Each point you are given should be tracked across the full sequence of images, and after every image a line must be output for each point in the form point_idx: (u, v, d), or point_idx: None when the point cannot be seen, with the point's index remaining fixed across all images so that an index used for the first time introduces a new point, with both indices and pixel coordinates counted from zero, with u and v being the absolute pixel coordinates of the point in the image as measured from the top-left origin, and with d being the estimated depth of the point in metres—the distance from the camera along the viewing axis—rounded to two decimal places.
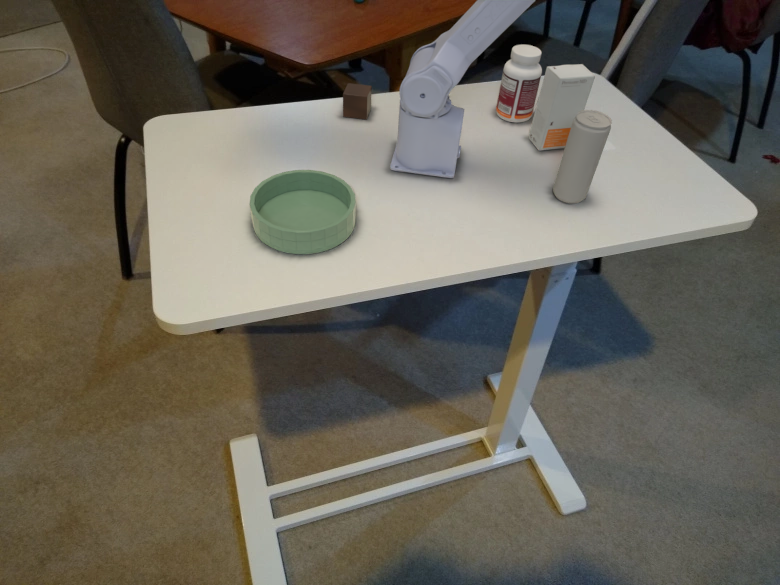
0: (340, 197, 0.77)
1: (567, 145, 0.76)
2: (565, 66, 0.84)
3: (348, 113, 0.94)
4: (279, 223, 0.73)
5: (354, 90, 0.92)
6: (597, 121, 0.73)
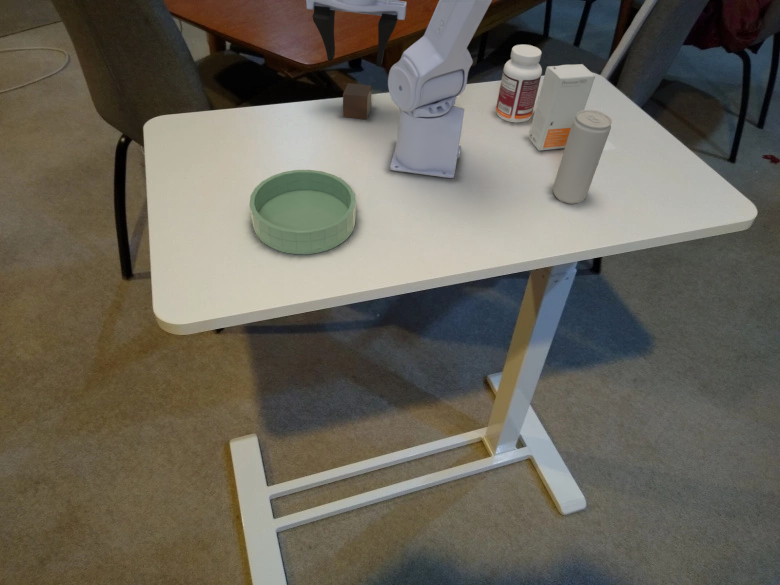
0: (340, 197, 0.77)
1: (567, 145, 0.76)
2: (565, 66, 0.84)
3: (348, 113, 0.94)
4: (279, 223, 0.73)
5: (354, 90, 0.92)
6: (597, 121, 0.73)
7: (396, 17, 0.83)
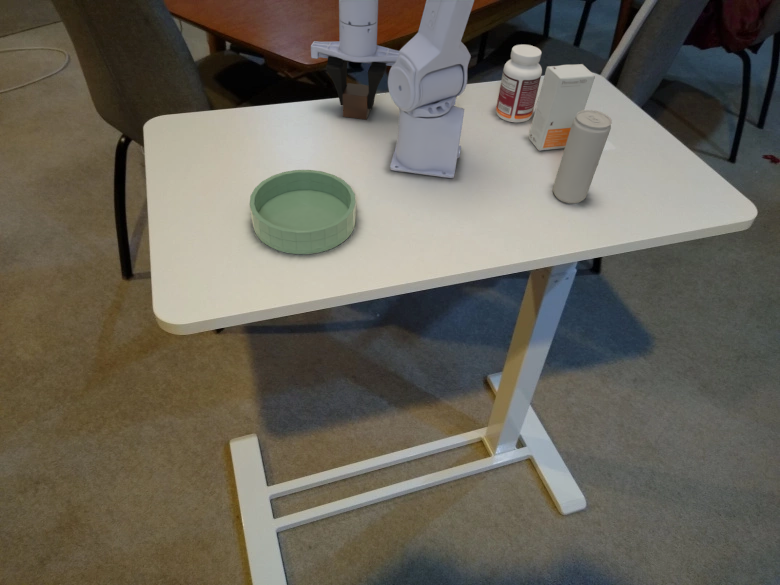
0: (340, 197, 0.77)
1: (567, 145, 0.76)
2: (565, 66, 0.84)
3: (348, 113, 0.94)
4: (279, 223, 0.73)
5: (354, 90, 0.92)
6: (597, 121, 0.73)
7: None
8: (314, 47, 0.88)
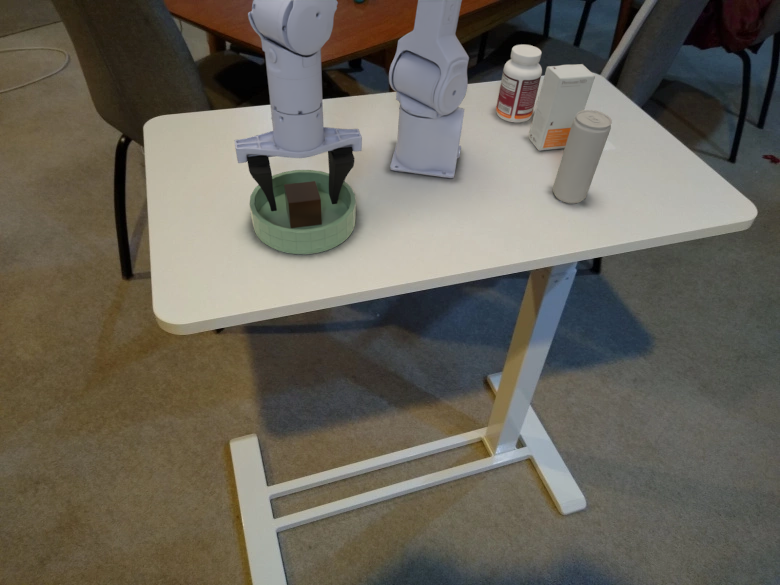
0: (340, 197, 0.77)
1: (567, 145, 0.76)
2: (565, 66, 0.84)
3: (297, 223, 0.72)
4: (279, 223, 0.73)
5: (300, 194, 0.71)
6: (597, 121, 0.73)
7: (352, 150, 0.68)
8: (241, 149, 0.64)
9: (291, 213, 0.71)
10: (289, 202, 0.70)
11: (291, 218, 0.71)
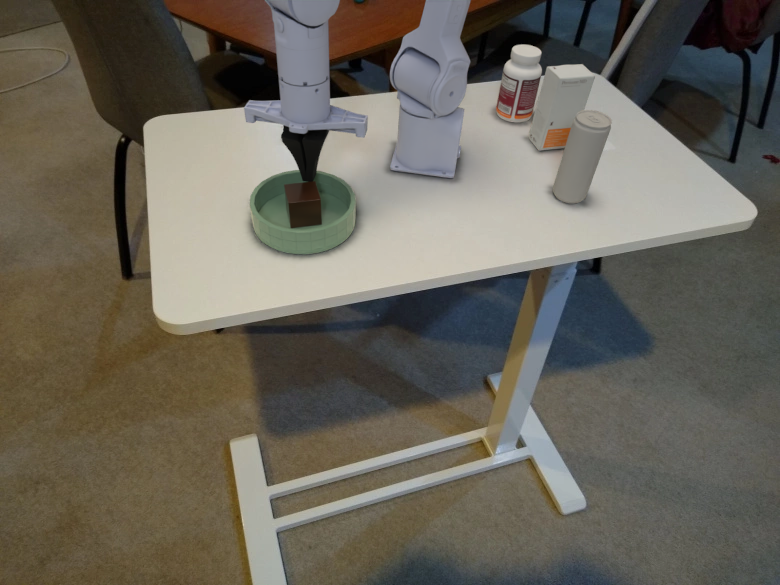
0: (340, 197, 0.77)
1: (567, 145, 0.76)
2: (565, 66, 0.84)
3: (297, 223, 0.72)
4: (279, 223, 0.73)
5: (300, 194, 0.71)
6: (597, 121, 0.73)
7: None
8: None
9: (291, 213, 0.71)
10: (289, 202, 0.70)
11: (291, 218, 0.71)
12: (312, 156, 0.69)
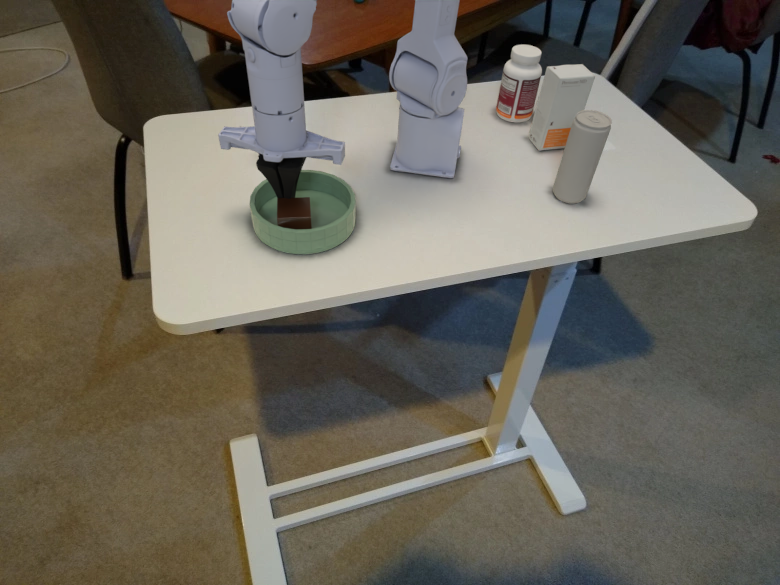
0: (340, 197, 0.77)
1: (567, 145, 0.76)
2: (565, 66, 0.84)
3: None
4: None
5: (291, 210, 0.69)
6: (597, 121, 0.73)
7: None
8: None
9: None
10: (278, 217, 0.67)
11: None
12: (288, 183, 0.68)
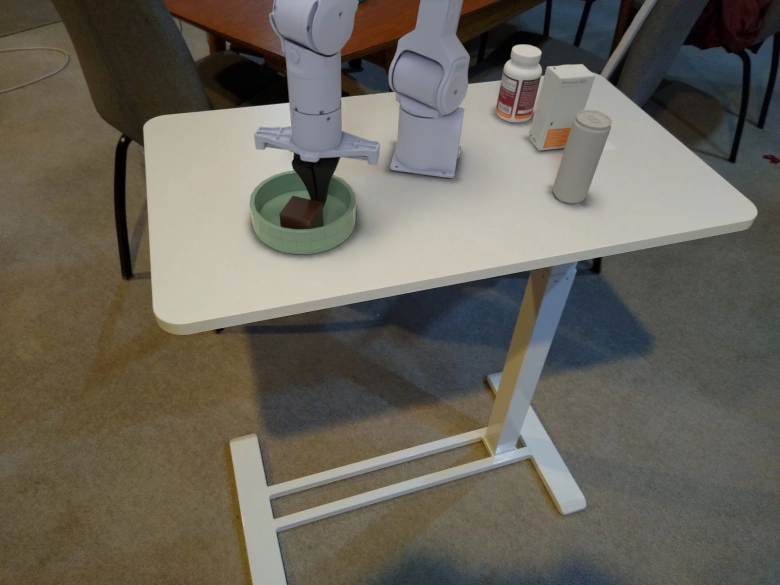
0: (340, 197, 0.77)
1: (567, 145, 0.76)
2: (565, 66, 0.84)
3: None
4: (279, 223, 0.73)
5: (297, 209, 0.69)
6: (597, 121, 0.73)
7: None
8: None
9: (282, 225, 0.69)
10: (280, 213, 0.68)
11: None
12: (323, 183, 0.68)
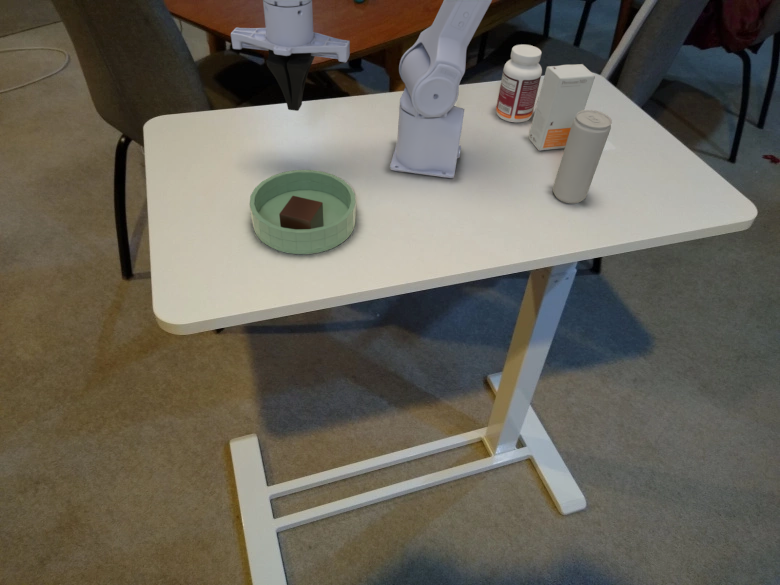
0: (340, 197, 0.77)
1: (567, 145, 0.76)
2: (565, 66, 0.84)
3: None
4: (279, 223, 0.73)
5: (297, 209, 0.69)
6: (597, 121, 0.73)
7: None
8: None
9: (282, 225, 0.69)
10: (280, 213, 0.68)
11: None
12: (296, 82, 0.72)
